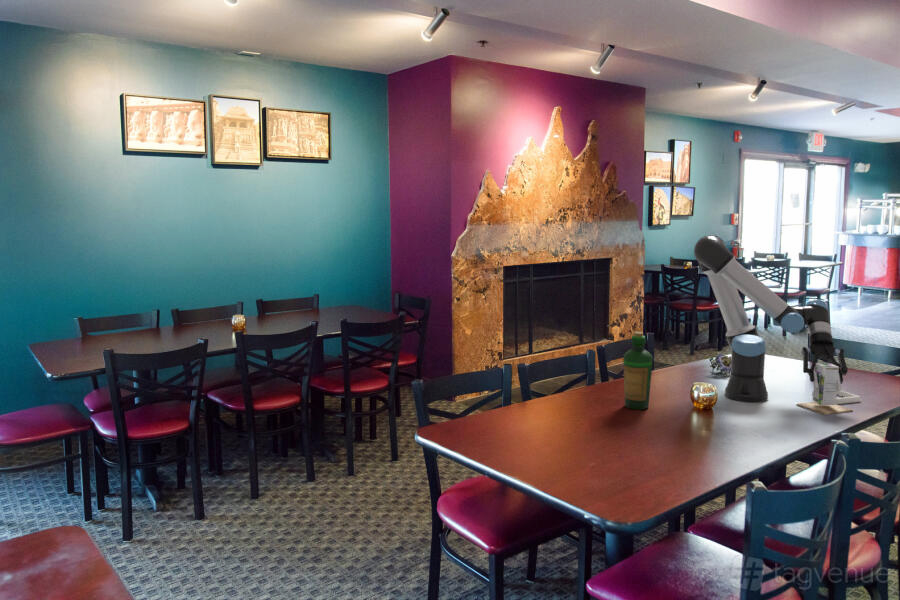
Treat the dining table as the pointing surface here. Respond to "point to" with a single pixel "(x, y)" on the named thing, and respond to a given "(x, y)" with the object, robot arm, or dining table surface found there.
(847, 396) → the white square frame
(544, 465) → the dining table surface
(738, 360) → the robot arm
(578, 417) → the dining table surface
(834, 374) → the syrup box
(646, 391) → the bottle
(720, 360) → the passion flower
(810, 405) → the mat
